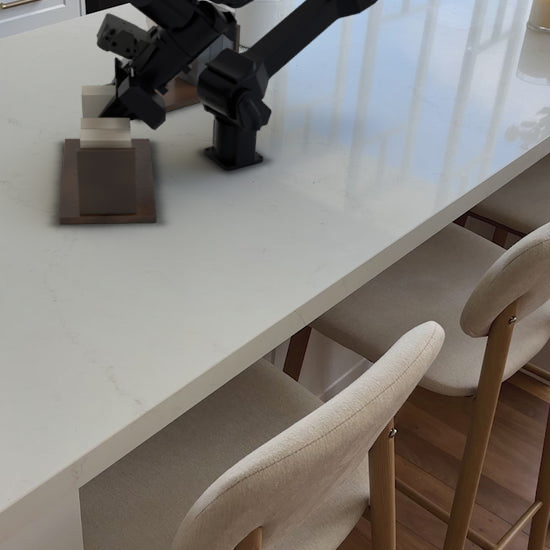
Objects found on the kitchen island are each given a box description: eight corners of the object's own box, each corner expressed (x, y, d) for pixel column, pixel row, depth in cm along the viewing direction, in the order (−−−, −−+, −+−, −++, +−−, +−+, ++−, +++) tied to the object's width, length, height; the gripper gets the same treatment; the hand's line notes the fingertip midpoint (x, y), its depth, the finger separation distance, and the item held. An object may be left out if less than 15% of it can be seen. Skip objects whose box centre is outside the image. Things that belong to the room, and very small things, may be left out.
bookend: (248, 87, 149) (253, 17, 142) (140, 120, 136) (139, 44, 129) (203, 63, 156) (205, -5, 149) (95, 92, 142) (92, 19, 136)
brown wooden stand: (149, 144, 129) (149, 73, 123) (156, 222, 112) (156, 144, 106) (65, 144, 127) (60, 72, 121) (59, 224, 110) (53, 144, 104)
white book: (129, 152, 122) (128, 85, 117) (130, 163, 120) (128, 94, 114) (85, 153, 121) (81, 85, 116) (85, 164, 119) (81, 94, 113)
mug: (207, 38, 166) (209, -17, 160) (228, 26, 172) (231, -28, 166) (265, 53, 162) (269, -3, 156) (284, 39, 168) (289, -15, 162)
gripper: (131, -28, 116) (51, 52, 120) (136, 23, 101) (44, 112, 106) (191, 31, 122) (112, 105, 126) (204, 88, 107) (114, 169, 111)
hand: (95, 121), depth 117 cm, fingers closed on white book, 3 cm apart
